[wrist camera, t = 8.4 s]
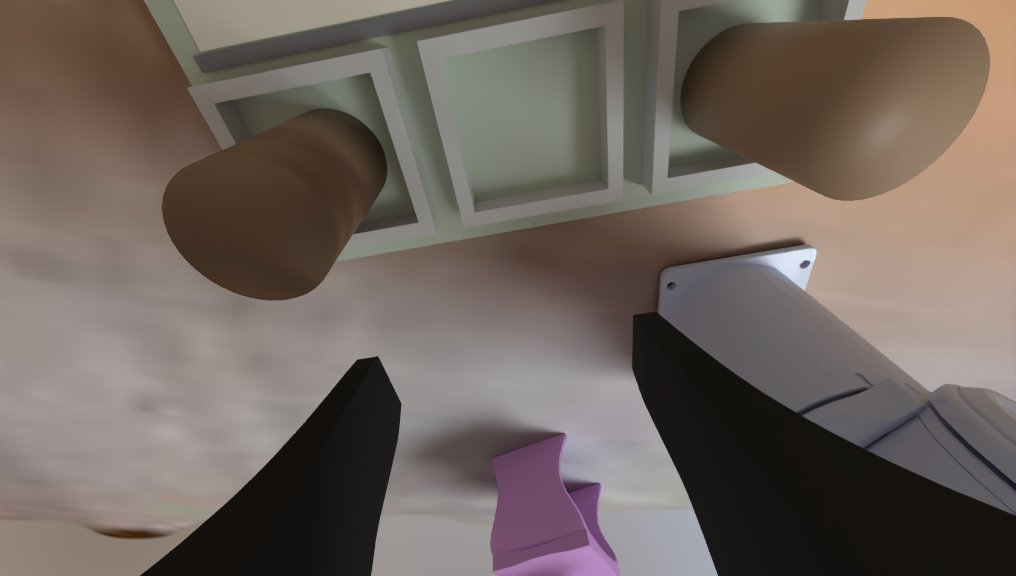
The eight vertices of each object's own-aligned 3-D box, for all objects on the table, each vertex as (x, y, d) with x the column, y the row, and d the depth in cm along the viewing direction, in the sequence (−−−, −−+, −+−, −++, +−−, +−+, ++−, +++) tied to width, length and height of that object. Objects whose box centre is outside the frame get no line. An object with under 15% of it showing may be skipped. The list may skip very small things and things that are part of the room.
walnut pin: (400, 198, 17) (356, 286, 11) (313, 215, 17) (224, 311, 11) (364, 98, 14) (285, 142, 9) (265, 120, 15) (122, 177, 9)
